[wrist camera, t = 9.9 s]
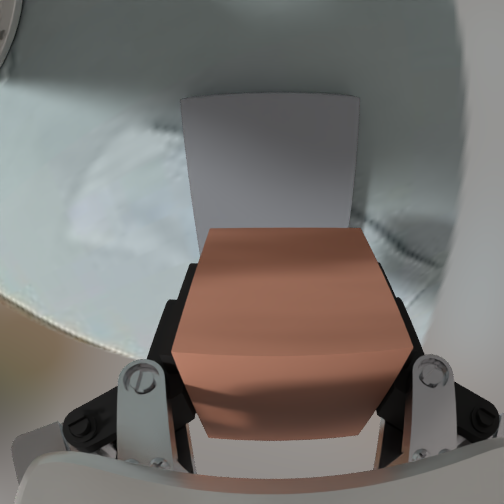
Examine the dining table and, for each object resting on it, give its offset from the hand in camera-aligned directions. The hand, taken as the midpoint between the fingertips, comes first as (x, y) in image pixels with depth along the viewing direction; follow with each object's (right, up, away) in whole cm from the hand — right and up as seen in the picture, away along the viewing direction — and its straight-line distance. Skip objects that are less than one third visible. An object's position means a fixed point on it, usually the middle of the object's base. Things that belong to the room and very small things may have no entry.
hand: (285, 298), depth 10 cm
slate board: (0, +6, +9) cm, 11 cm away
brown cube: (0, 0, +1) cm, 1 cm away
